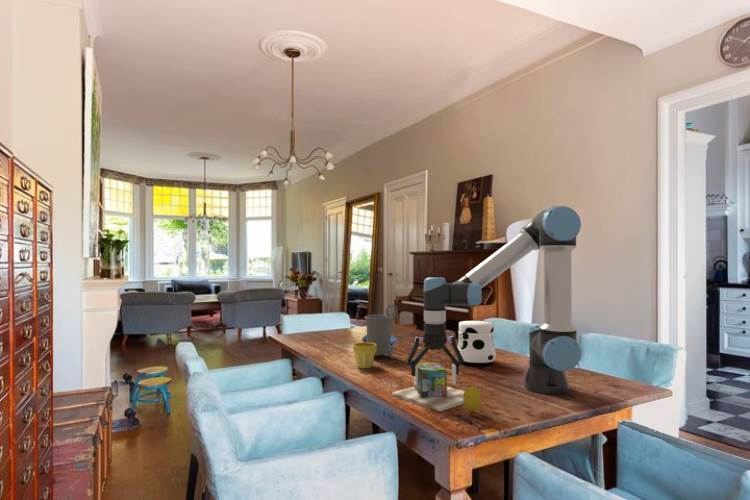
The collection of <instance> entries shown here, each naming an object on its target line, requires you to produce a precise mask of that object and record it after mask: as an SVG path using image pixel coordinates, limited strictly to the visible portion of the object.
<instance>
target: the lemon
mask: <svg viewBox="0 0 750 500" xmlns="http://www.w3.org/2000/svg"><path fill="white" fill-rule="evenodd" d="M464 391H465V392H464V396H463V401H464V404H463V405H464V406H465V408H466V409H467V410H469V411H470V412H471V413H475V411H478V409H480V407H481V406H482V399H483V398H482V393H481V392H480V390H479V389H478V388H476V387H474V386H473V385H471V386H470V387H467V388H466V389H465V390H464Z"/></svg>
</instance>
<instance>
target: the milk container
mask: <svg viewBox="0 0 750 500" xmlns="http://www.w3.org/2000/svg"><path fill="white" fill-rule="evenodd" d="M494 329H495V327H494V324H493V322H489V321H485V320H463V321H459V322H458V331H457V333H458V342H457V347H458V349H459V351H460V353H461V355H462V358H463V360H464V363H463V364H467V365H475V366H476V365H477V366H479V365H481V366H482V365H483V366H484V365H489V364H493V363H494V361H495V360H496V356H497V355H496V354H497V353H496V347H495V343H494V333H495V332H494Z"/></svg>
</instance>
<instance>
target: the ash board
mask: <svg viewBox="0 0 750 500" xmlns="http://www.w3.org/2000/svg"><path fill="white" fill-rule="evenodd" d="M464 392H465V390H461V389H459V388H458V389H457V388H454V387H450V386H447V396H446V397H423V398H421V396H420V395H419V393H418V391H417V390H416V388H415V387H414V386H411V387H407V388H403V389H400V390H396V391H392V392H391V395H392V396H393V397H396V398H398V399H402V400H405V401H407V402H411V403H414V404H417V405H420V406H423V407H426V408H430V409H432V410H435V411H438V412H443V411H445V410H446V411H447V410H448V409H452V408H454V407H458V406H461V405H464V401H463V396H464Z"/></svg>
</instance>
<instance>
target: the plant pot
mask: <svg viewBox="0 0 750 500" xmlns="http://www.w3.org/2000/svg"><path fill="white" fill-rule="evenodd" d="M352 350H353V353H354V356H355V362H356V366H357V368H360V369H371V368H372V367H373V365H374V364H373V363H374V359H375V356H376V355H375V353H376V350H377V345H376V344H375V343H369V342H367V341H366V342H365V341H364V342H355V343H353V345H352Z"/></svg>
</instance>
